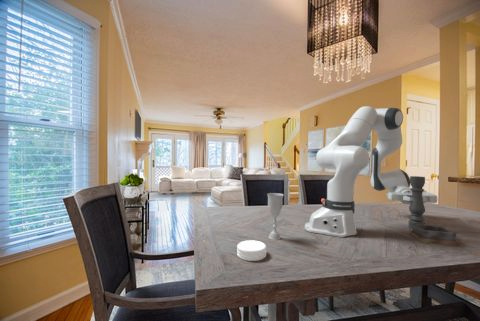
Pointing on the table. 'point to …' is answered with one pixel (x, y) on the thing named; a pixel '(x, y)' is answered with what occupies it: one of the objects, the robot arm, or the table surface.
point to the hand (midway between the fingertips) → (417, 199)
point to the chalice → (275, 211)
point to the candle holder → (416, 201)
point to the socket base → (434, 235)
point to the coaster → (251, 250)
